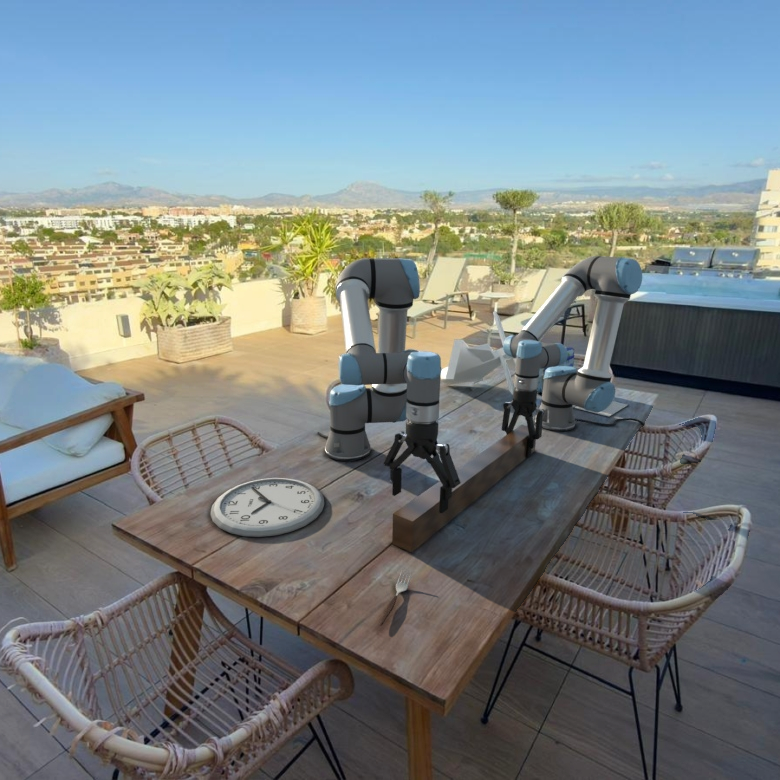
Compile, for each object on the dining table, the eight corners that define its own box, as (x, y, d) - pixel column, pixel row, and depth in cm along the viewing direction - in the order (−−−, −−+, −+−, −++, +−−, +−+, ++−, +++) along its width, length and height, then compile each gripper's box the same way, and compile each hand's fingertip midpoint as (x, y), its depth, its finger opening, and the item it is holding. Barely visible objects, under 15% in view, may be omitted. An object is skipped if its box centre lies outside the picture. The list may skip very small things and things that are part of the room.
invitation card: (608, 416, 214) (573, 407, 224) (608, 416, 214) (573, 408, 224) (628, 404, 229) (594, 396, 238) (628, 405, 229) (594, 397, 238)
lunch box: (546, 398, 236) (551, 353, 229) (525, 393, 243) (529, 349, 237) (573, 387, 253) (579, 344, 247) (553, 382, 260) (558, 341, 254)
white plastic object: (461, 429, 252) (437, 405, 227) (444, 352, 274) (420, 323, 250) (535, 404, 240) (518, 377, 215) (510, 326, 262) (492, 293, 237)
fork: (373, 626, 100) (374, 617, 99) (401, 576, 114) (401, 568, 113) (386, 630, 99) (386, 621, 98) (412, 579, 113) (412, 571, 112)
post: (519, 446, 183) (521, 424, 181) (534, 450, 180) (537, 428, 178) (392, 543, 126) (392, 513, 123) (411, 552, 123) (412, 521, 120)
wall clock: (322, 529, 128) (196, 532, 126) (322, 534, 129) (197, 538, 126) (326, 473, 157) (223, 476, 154) (326, 478, 157) (224, 481, 155)
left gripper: (369, 412, 125) (369, 492, 131) (461, 436, 110) (456, 525, 116) (388, 404, 130) (387, 481, 136) (478, 426, 116) (472, 511, 122)
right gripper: (494, 385, 172) (488, 450, 179) (549, 396, 161) (541, 465, 168) (503, 380, 178) (498, 443, 185) (558, 391, 167) (550, 457, 174)
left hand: (419, 502), depth 126 cm, fingers open, 13 cm apart
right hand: (519, 453), depth 176 cm, fingers closed on post, 6 cm apart
